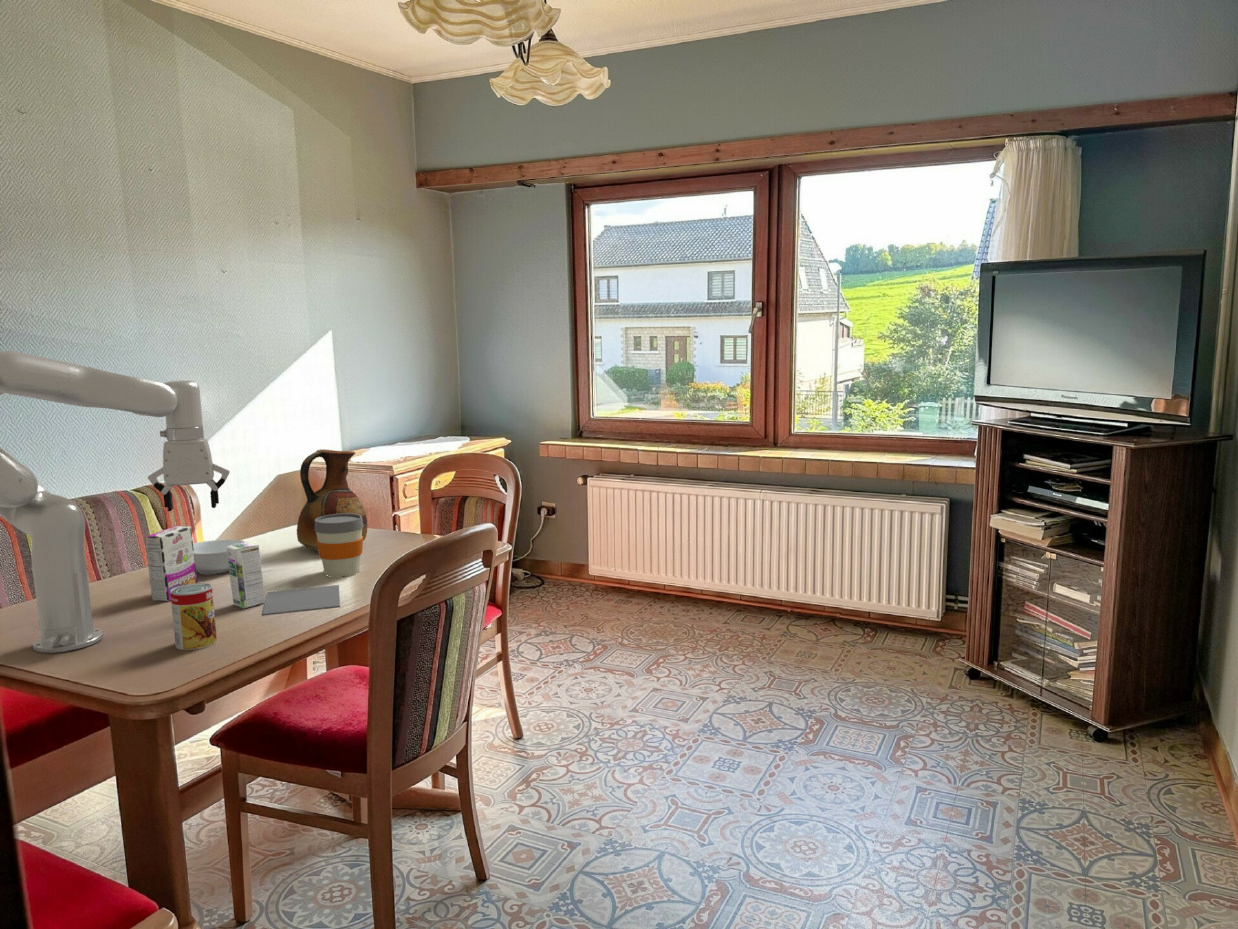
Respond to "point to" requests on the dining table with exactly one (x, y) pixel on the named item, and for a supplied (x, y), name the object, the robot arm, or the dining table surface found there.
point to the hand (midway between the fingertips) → (192, 508)
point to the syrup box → (245, 574)
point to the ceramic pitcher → (327, 495)
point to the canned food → (193, 616)
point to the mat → (301, 599)
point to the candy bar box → (170, 561)
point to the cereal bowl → (212, 556)
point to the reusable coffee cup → (340, 543)
